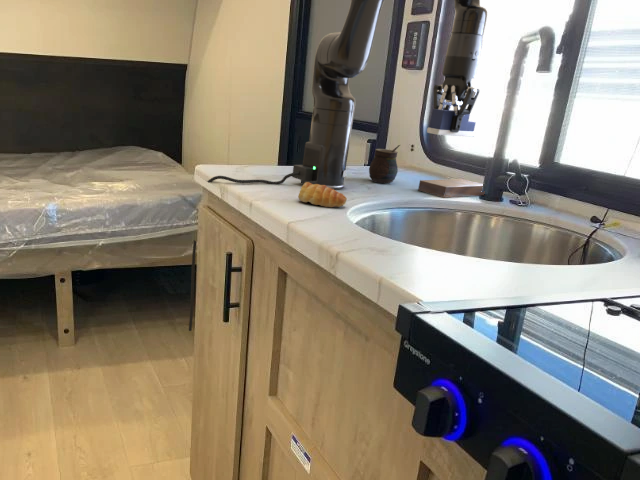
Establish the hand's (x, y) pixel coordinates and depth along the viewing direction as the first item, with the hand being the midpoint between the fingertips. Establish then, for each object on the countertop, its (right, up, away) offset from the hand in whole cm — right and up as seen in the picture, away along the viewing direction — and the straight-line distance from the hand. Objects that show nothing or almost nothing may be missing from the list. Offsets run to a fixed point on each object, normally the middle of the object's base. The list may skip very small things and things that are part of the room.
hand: (447, 130), depth 146 cm
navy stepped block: (+1, -1, +1) cm, 1 cm away
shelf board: (+2, -15, +1) cm, 15 cm away
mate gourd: (-14, -11, +7) cm, 20 cm away
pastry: (-35, -22, -24) cm, 48 cm away
